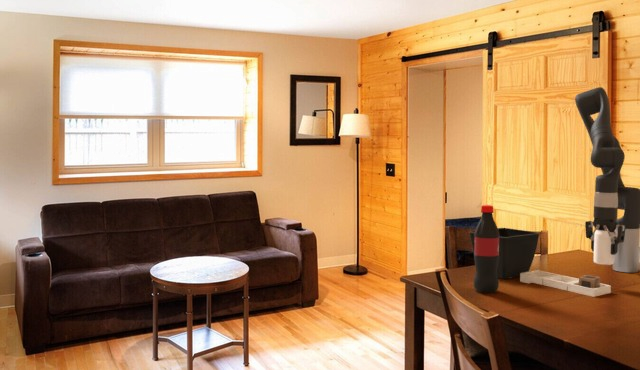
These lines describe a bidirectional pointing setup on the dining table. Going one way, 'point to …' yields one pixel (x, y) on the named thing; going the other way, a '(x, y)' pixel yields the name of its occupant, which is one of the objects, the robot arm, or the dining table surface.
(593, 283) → the letter cube
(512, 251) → the flower pot
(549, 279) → the dish
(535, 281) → the dish
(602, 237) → the can
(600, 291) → the dish
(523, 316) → the dining table surface
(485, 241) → the cola bottle
